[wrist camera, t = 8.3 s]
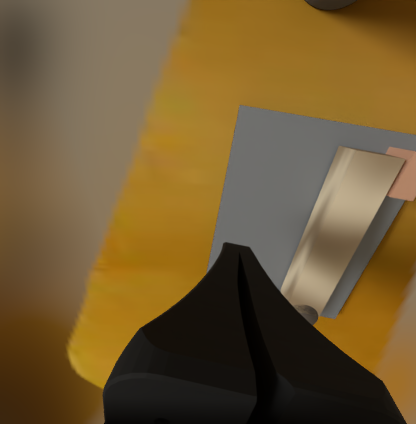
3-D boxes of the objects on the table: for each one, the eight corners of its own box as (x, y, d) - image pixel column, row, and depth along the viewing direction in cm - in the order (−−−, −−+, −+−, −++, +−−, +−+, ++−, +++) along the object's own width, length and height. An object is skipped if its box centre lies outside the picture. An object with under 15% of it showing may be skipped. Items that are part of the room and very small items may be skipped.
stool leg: (303, 310, 22) (311, 331, 20) (274, 304, 22) (278, 324, 20) (381, 153, 15) (405, 159, 13) (339, 145, 15) (356, 150, 13)
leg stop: (389, 190, 16) (412, 201, 14) (369, 186, 16) (389, 197, 14) (410, 150, 15) (440, 156, 13) (389, 146, 15) (415, 151, 13)
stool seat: (330, 309, 23) (334, 318, 22) (204, 283, 24) (203, 291, 23) (426, 137, 16) (441, 139, 15) (239, 105, 16) (240, 105, 15)
